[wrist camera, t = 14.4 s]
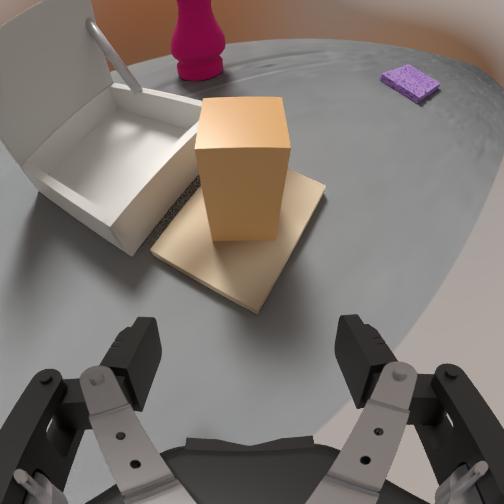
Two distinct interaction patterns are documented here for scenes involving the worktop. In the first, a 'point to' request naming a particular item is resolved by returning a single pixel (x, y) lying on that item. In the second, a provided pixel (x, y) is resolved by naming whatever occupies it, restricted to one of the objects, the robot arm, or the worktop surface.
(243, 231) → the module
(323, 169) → the worktop surface
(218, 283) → the board
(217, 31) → the pepper mill
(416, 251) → the worktop surface
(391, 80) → the sponges
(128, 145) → the equipment case
